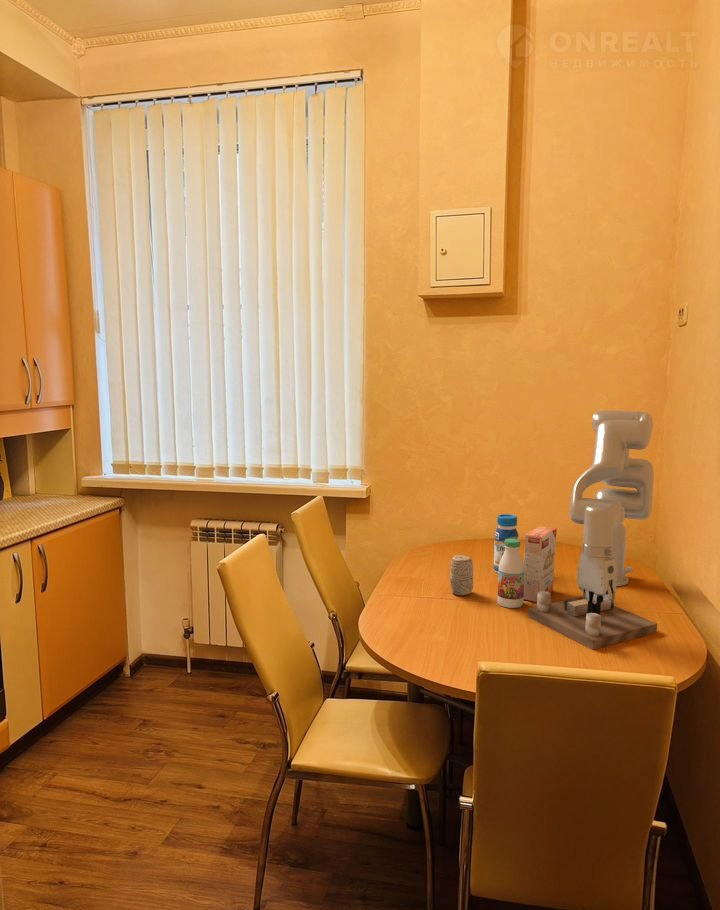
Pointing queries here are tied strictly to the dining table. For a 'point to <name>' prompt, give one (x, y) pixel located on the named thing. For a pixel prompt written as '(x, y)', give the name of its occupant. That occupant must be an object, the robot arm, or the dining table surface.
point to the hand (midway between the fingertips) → (593, 615)
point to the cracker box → (539, 561)
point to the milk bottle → (511, 576)
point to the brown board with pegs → (590, 623)
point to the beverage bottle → (503, 536)
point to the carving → (461, 575)
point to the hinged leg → (582, 605)
